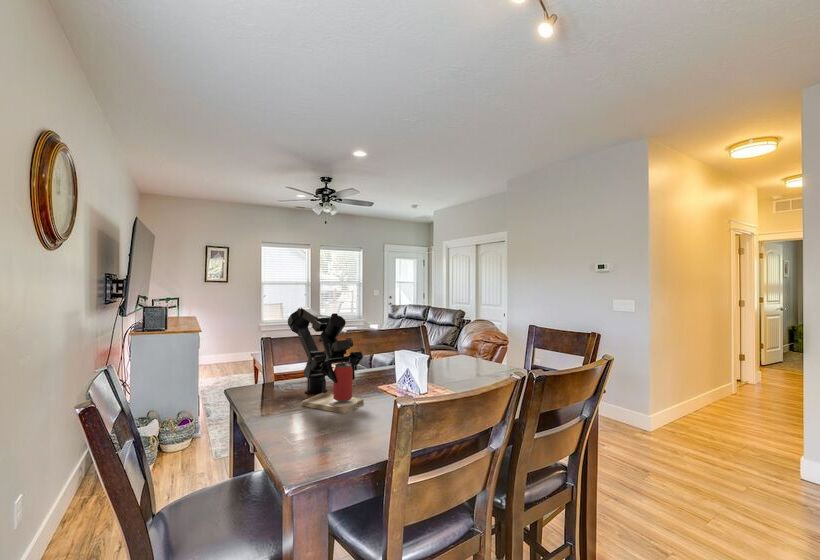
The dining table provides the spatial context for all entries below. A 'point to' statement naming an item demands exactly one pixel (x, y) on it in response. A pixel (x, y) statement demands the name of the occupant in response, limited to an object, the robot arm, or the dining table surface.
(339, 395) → the beer can
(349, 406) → the birch board
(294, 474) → the dining table surface
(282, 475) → the dining table surface
